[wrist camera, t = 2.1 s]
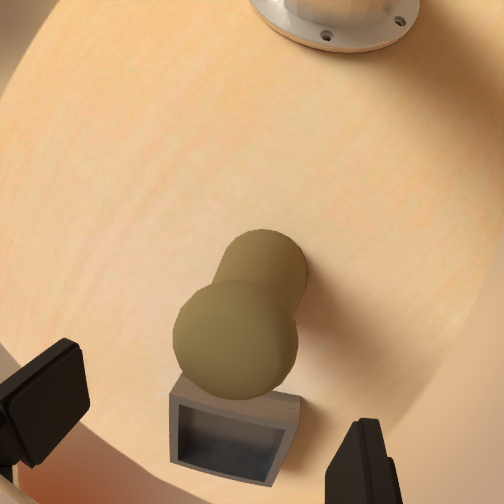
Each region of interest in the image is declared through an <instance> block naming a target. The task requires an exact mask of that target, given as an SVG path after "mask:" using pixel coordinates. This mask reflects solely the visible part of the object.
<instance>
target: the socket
mask: <svg viewBox="0 0 504 504" xmlns="http://www.w3.org/2000/svg"><path fill="white" fill-rule="evenodd" d="M300 399H301V396H297V395H291V394H286V393H281V392H275V391H270V392H268V393H266V394H265V395H262V396H259V397H256V398H253V399H249V400H229V399H224V398H220V397H216V396H214V395H212V394H209V393H207V392H205V391H203V390H201V389H200V388H199V387H198V386H196V385H195V384H194V383H193V382H191V381H190V380H189V379H188V377H187V376H186V375H185V373H184V372H182V374H181V375H180V377H179V379H178V380H177V382H176V384H175V385H174V387H173V389H172V390H171V392H170V393H169V443H170V462H172V463H175V464H178V465H181V466H184V467H187V468H190V469H194V470H197V471H201V472H204V473H208V474H211V475H215V476H219V477H223V478H227V479H232V480H236V481H240V482H245V483H250V484H255V485H261V486H266V487H272V485H273V483H274V481H275V479H276V476H277V474H278V472H279V470H280V468H281V466H282V463H283V461H284V459H285V457H286V454H287V452H288V450H289V447H290V445H291V443H292V440H293V438H294V436H295V433H296V431H297V428H298V426H299V415H300Z"/></svg>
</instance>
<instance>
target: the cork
mask: <svg viewBox="0 0 504 504" xmlns="http://www.w3.org/2000/svg"><path fill="white" fill-rule="evenodd" d="M307 274H308V271H307V265H306V259H305V257H304V256H303V254H302V252H301V250H300V248H299V247H298V246H297V245H296V244H295V243H294V242H293V241H292V240H291V239H290V238H289V237H287V236H285V235H283V234H281V233H279V232H277V231H272V230H265V229H259V230H253V231H248V232H246V233H244V234H242V235H240V236H239V237H237V238H235V240H234V241H233V242H232V243H231V244H230V245H229V246H228V247H227V249H226V251H225V253H224V256H223V258H222V260H221V262H220V265H219V267H218V270H217V272H216V274H215V277H214V279H213V282H212V284H210V285H208V286H206V287H204V288H202V289H200V290H198V291H197V292H196V293H195V294H194V295H193V296H192V297H191V298H190V299H189V300H188V301H187V302H186V303H185V305H184V306H183V307H182V308H181V309H180V312H179V314H178V317H177V319H176V322H175V325H174V328H173V349H174V352H175V355H176V358H177V360H178V363H179V366H180V368H181V369H182V371H183V372H184V373H185V375H186V376H187V377H188V379H189V380H190V381H191V382H193V383H194V384H195V385H196V386H198V387H199V388H200V389H201V390H203V391H205V392H207V393H209V394H212V395H214V396H216V397H220V398H224V399H229V400H249V399H253V398H256V397H259V396H262V395H265V394H266V393H268V392H270V391H271V390H273V389H274V388H276V387H277V386H278V385H280V384H281V383H282V382H283V381H284V379H285V378H286V376H287V375H288V373H289V372H290V371H291V369H292V367H293V365H294V363H295V359H296V355H297V350H298V334H297V328H296V323H295V321H294V319H293V316H294V313H295V311H296V308H297V306H298V303H299V301H300V298H301V296H302V293H303V291H304V288H305V285H306V280H307Z"/></svg>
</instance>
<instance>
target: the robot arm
mask: <svg viewBox="0 0 504 504" xmlns="http://www.w3.org/2000/svg"><path fill="white" fill-rule="evenodd" d="M249 1H250V3H251V5H252V7H253V8H254V10H255V12H256V13H257V14H258V15H259V16H260V17H261V19H262V20H263V21H264V22H265V23H266V24H267V25H269V26H270V27H272V28H273V29H274V30H276V31H277V32H278V33H280V34H282V35H284V36H286V37H288V38H289V39H291V40H293V41H295V42H298V43H301V44H304V45H307V46H309V47H312V48H317V49H322V50H326V51H332V52H343V53H355V52H367V51H372V50H376V49H381V48H383V47H385V46H388V45H390V44H393V43H394V42H396V41H397V40H399V39H400V38H401V37H403V36H404V35H405V34H406V33H407V31H408V30H409V29H410V28H411V27H412V25H413V23H414V22H415V20H416V18H417V16H418V12H419V8H420V0H249ZM397 24H398V25H397ZM324 38H328V39H329V40H330V41H325V40H323V39H324ZM89 407H90V399H89V393H88V388H87V382H86V375H85V369H84V361H83V354H82V350H81V349H80V347H79V345H78V344H77V343H76V342H73V341H71V340H69V339H67V338H62V339H61V340H59V341H58V342H56V343H55V344H54V345H52V346H51V347H49V348H48V349H47V350H45V351H44V352H43V353H41V354H40V355H39V356H37V357H36V358H34V359H33V360H32V361H30V362H29V363H28V364H26V365H25V366H24V367H22V368H21V369H20V370H18V371H17V372H16V373H14V374H13V375H12V376H10V377H9V378H8V379H6V380H5V381H4V382H3V383H1V384H0V504H39V503H38V502H36V501H34V500H33V499H32V498H30V497H29V496H28V495H26V494H25V493H24V492H22V491H21V490H20V489H19V484H18V471H17V463H18V462H19V461H20V460H21V461H22V462H23V463H25V464H26V465H27V466H29V467H30V468H31V469H32V468H33V467H34V466H35V465H39V464H41V463H42V462H43V461H44V460H45V458H46V457H47V456H48V455H49V454H50V453H51V452H52V450H53V449H54V448H55V447H56V446H57V445H58V443H60V441H61V440H62V439H63V438H64V437H65V436H66V434H67V433H68V432H69V431H70V430H71V429H72V428H73V427H74V426H75V425H76V423H77V422H78V421H79V420H80V419H81V418H82V417H83V416H84V414H85V413H86V412H87V411H88V410H89ZM325 504H403V502H402V497H401V492H400V487H399V482H398V477H397V473H396V468H395V464H394V461H393V459H392V458H391V457H387V453H386V449H385V444H384V440H383V435H382V431H381V427H380V423H379V420H378V419H371V418H360V419H359V420H358V422H356V421H354V422H353V423H352V425H351V427H350V429H349V431H348V433H347V434H346V436H345V438H344V440H343V442H342V444H341V445H340V447H339V449H338V451H337V453H336V454H335V456H334V458H333V459H332V461H331V463H330V465H329V466H328V468H327V470H326V474H325Z"/></svg>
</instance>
